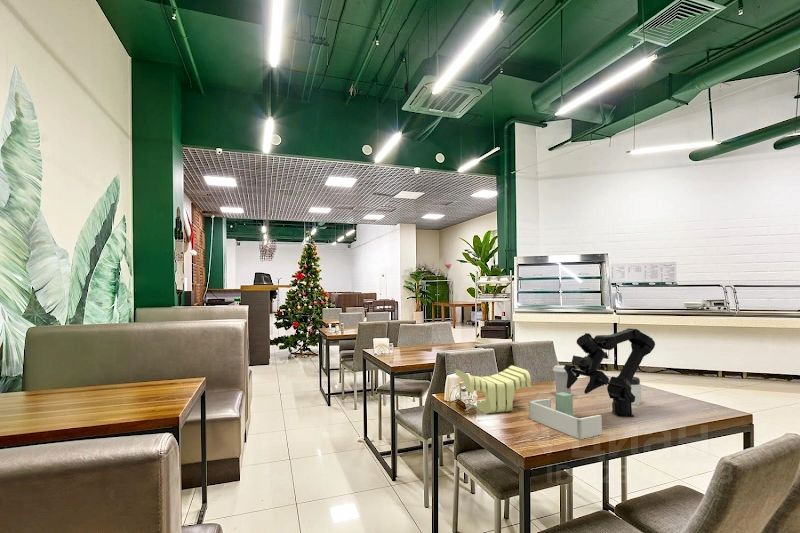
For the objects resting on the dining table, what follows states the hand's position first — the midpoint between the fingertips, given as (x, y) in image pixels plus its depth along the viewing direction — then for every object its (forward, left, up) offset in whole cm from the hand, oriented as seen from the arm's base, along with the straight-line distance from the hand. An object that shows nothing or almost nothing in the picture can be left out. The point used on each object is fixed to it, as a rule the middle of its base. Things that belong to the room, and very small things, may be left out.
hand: (575, 390), depth 157 cm
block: (+6, +4, -13) cm, 15 cm away
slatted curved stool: (+31, -17, -13) cm, 38 cm away
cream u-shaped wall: (+6, +4, -13) cm, 15 cm away
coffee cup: (-9, -42, -13) cm, 45 cm away
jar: (-37, -31, -13) cm, 50 cm away
